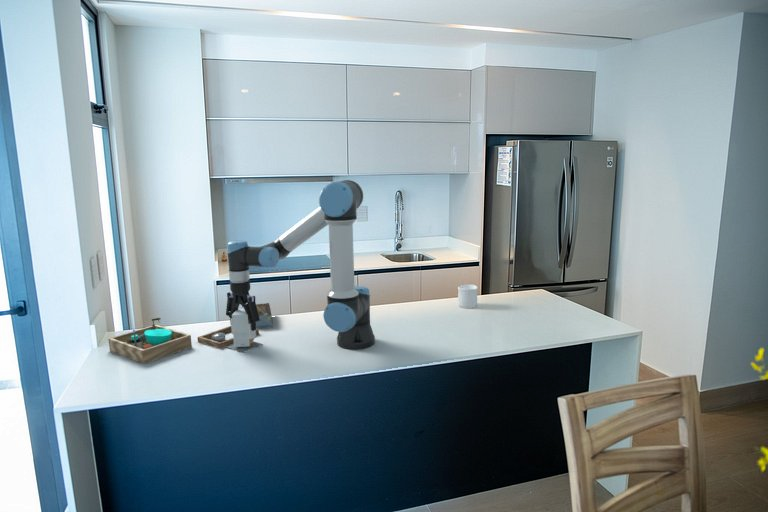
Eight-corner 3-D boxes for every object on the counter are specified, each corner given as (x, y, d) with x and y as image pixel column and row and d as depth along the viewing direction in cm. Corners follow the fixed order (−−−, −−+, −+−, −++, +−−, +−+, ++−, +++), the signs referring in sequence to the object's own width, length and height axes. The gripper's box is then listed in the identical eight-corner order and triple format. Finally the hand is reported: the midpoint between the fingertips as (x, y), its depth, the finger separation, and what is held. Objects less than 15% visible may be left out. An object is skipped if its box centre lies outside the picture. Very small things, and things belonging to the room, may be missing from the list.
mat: (262, 344, 208) (262, 343, 208) (242, 352, 200) (242, 351, 200) (245, 340, 214) (245, 339, 214) (225, 347, 206) (225, 346, 206)
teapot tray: (191, 347, 207) (190, 335, 206) (144, 363, 191) (142, 350, 190) (156, 335, 221) (155, 324, 220) (109, 350, 205) (108, 338, 204)
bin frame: (259, 334, 221) (258, 329, 221) (220, 348, 205) (219, 343, 205) (237, 328, 229) (236, 323, 229) (197, 341, 213) (197, 337, 212)
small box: (250, 346, 203) (247, 314, 201) (233, 347, 203) (231, 315, 200) (254, 339, 211) (252, 308, 209) (238, 339, 211) (236, 308, 208)
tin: (228, 341, 214) (227, 334, 213) (217, 344, 210) (217, 337, 209) (220, 338, 216) (219, 331, 216) (210, 342, 212) (209, 335, 212)
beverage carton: (254, 329, 227) (253, 315, 226) (253, 317, 246) (252, 303, 244) (272, 327, 229) (272, 313, 228) (270, 315, 248) (269, 301, 246)
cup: (457, 308, 253) (457, 289, 251) (458, 302, 263) (458, 284, 261) (477, 309, 252) (477, 289, 250) (477, 303, 261) (477, 284, 259)
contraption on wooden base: (125, 347, 208) (120, 311, 205) (174, 338, 216) (169, 303, 213) (127, 360, 196) (121, 321, 193) (178, 350, 204) (173, 313, 201)
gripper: (267, 282, 199) (270, 338, 203) (228, 275, 211) (232, 328, 216) (251, 286, 193) (255, 343, 197) (213, 279, 205) (217, 333, 210)
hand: (243, 335), depth 206 cm, fingers closed on small box, 10 cm apart
